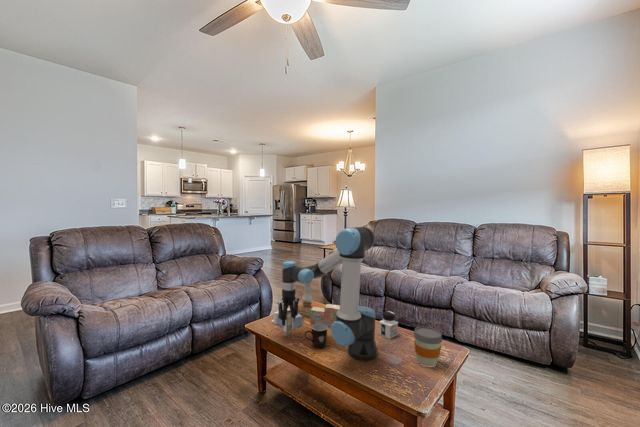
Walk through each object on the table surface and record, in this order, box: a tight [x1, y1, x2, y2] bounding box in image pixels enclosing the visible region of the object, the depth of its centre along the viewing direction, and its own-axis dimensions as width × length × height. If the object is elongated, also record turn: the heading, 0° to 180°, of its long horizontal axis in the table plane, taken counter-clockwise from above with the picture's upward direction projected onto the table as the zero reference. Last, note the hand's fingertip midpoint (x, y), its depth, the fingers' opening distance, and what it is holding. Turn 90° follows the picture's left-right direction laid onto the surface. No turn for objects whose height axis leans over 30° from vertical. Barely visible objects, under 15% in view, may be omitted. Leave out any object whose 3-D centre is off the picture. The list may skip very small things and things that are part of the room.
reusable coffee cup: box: [413, 326, 443, 366], centre depth 135 cm, size 13×12×15 cm
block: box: [277, 314, 303, 329], centre depth 174 cm, size 11×11×6 cm
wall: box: [270, 307, 290, 325], centre depth 180 cm, size 5×14×7 cm, turn 130°
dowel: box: [284, 311, 292, 338], centre depth 159 cm, size 3×3×14 cm
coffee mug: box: [304, 324, 329, 350], centre depth 149 cm, size 12×9×10 cm
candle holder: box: [298, 278, 316, 319], centre depth 191 cm, size 11×11×24 cm
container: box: [378, 310, 399, 339], centre depth 163 cm, size 8×8×13 cm
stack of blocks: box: [309, 303, 340, 329], centre depth 174 cm, size 21×6×12 cm, turn 73°
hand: (288, 329), depth 159 cm, fingers open, 4 cm apart
